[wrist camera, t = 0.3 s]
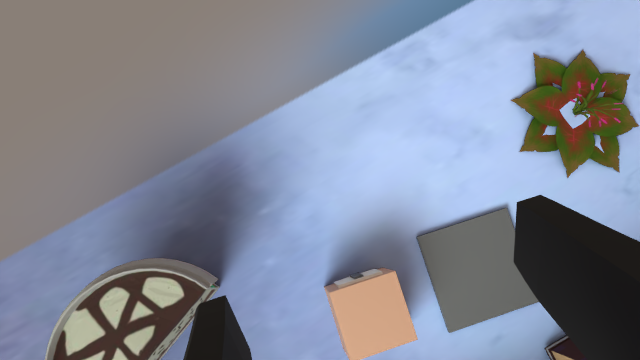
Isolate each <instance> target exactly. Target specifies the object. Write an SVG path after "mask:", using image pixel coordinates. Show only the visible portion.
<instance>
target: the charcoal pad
mask: <svg viewBox="0 0 640 360" xmlns="http://www.w3.org/2000/svg"><path fill="white" fill-rule="evenodd" d="M417 240H418V243H419V246H420V249H421V252H422V255H423V258H424V261H425V264H426V267H427V270H428V273H429V276H430V279H431V282H432V285H433V288H434V291H435V294H436V297H437V300H438V303H439V306H440V309H441V312H442V315H443V318H444V321H445V324H446V327H447V330H448V332H449V333H451V332H454V331H456V330H459V329H462V328H465V327H468V326H471V325H474V324H476V323H479V322H482V321H485V320H488V319H491V318H494V317H496V316H499V315H502V314H505V313H508V312H511V311H514V310H517V309H519V308H522V307H525V306H528V305H531V304H534V303H537V302H539V301H538V299H537V298H536V297H535V295H534V294H533V292H532V291H531V289H530V288H529V286H528V285H527V283H526V282H525V280H524V278H523V277H522V275H521V274H520V272H519V270H518V269H517V267H516V265H515V264H514V262H513V261H514V245H515V230H514V227H513V224H512V221H511V218H510V216H509V213H508V210H507V208H504V209H501V210H498V211H495V212H492V213H489V214H486V215H483V216H480V217H477V218H474V219H470V220H467V221H464V222H461V223H458V224H455V225H452V226H449V227H446V228H443V229H440V230H437V231H434V232H430V233H427V234H424V235H421V236H418V237H417Z"/></svg>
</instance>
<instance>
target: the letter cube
mask: <svg viewBox="0 0 640 360" xmlns="http://www.w3.org/2000/svg"><path fill="white" fill-rule="evenodd" d="M324 288H325V291H326V294H327V298H328V301H329V304H330V307H331V311H332V314H333V317H334V320H335V323H336V327H337V330H338V333H339V336H340V340H341V343H342V346H343V349H344V350H345V352H346V354H347V356H348V358H349V360H360V359H363V358H366V357H369V356H371V355H374V354H377V353H380V352H383V351H386V350H389V349H392V348H395V347H397V346H400V345H403V344H406V343H409V342H412V341H415V340H418V339H417V336H416V332H415V329H414V326H413V323H412V320H411V317H410V314H409V311H408V308H407V305H406V302H405V299H404V296H403V293H402V290H401V287H400V284H399V281H398V278H397V274H396V271H393V270H390V269H386V268H380V269H377V270H376V269H372V270H368V271H365V272H362V273H355V274H352V275H350V277H347V278H344V279H341V280H338V281H335V282H334V284H331V285H328V286H325V287H324Z"/></svg>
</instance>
